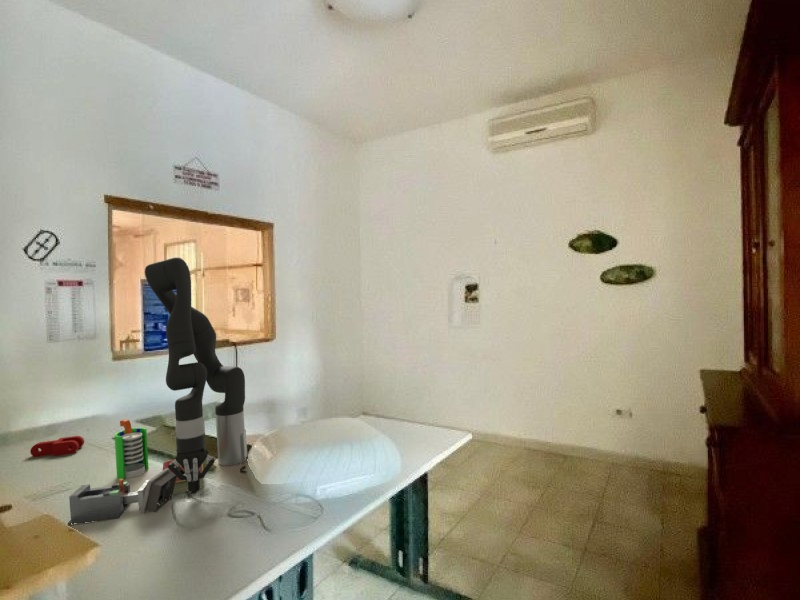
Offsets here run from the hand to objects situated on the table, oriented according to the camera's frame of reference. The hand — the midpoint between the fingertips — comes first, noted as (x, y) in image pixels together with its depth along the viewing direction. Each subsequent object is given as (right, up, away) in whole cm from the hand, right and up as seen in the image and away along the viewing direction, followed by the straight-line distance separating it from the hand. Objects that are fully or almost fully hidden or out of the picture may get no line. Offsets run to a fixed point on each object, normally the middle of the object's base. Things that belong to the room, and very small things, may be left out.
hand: (194, 492), depth 125 cm
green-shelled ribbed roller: (-31, -3, +21) cm, 37 cm away
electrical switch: (-8, -3, -3) cm, 9 cm away
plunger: (-18, -2, -4) cm, 19 cm away
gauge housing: (-23, -3, -5) cm, 24 cm away
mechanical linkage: (-74, -5, +44) cm, 87 cm away
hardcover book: (-10, -3, +14) cm, 18 cm away
